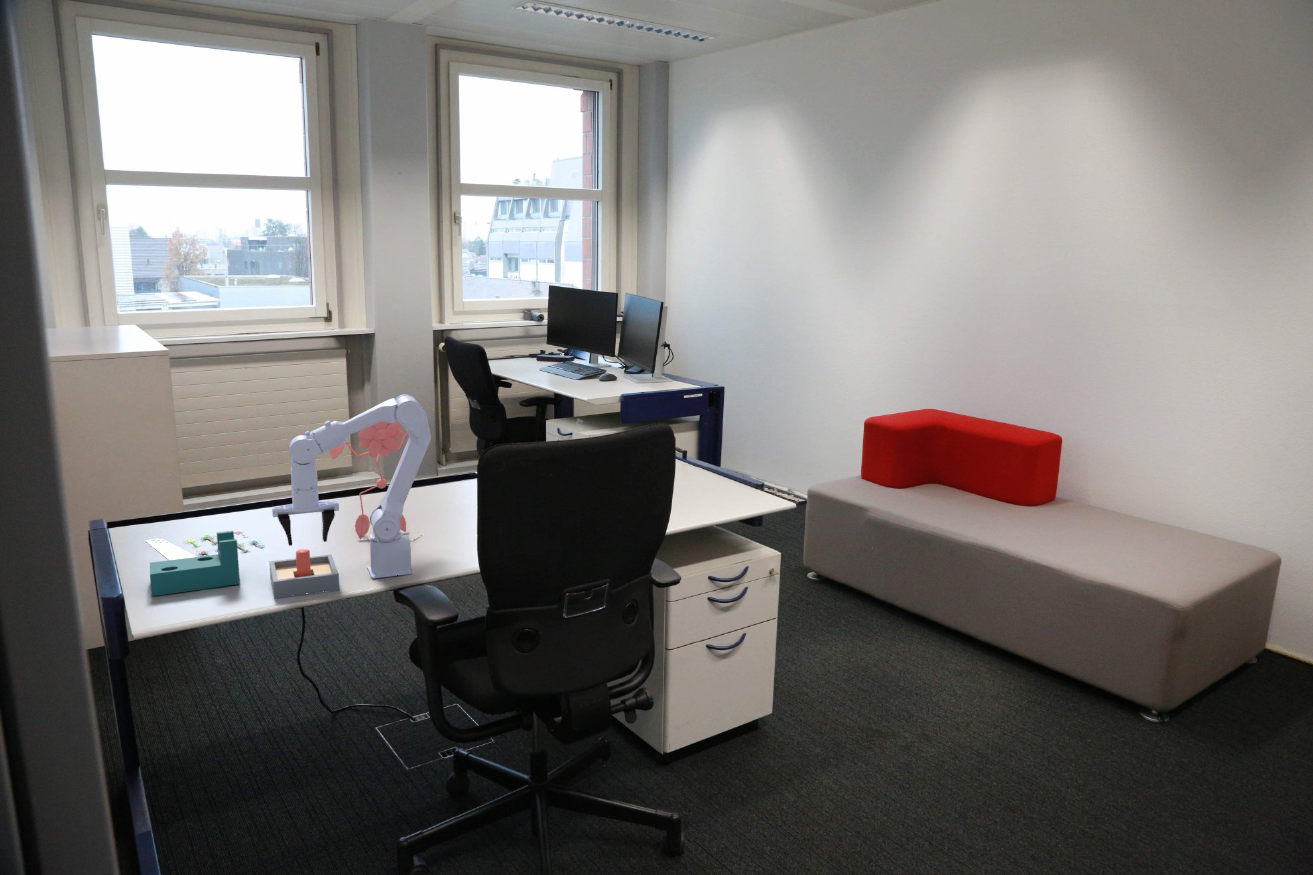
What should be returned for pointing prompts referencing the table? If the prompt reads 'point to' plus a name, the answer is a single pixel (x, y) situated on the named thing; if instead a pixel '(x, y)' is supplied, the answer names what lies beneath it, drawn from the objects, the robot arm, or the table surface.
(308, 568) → the peg
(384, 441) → the figurine
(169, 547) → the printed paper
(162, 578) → the teal l-shaped bracket
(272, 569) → the box
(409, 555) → the robot arm
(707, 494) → the table surface
